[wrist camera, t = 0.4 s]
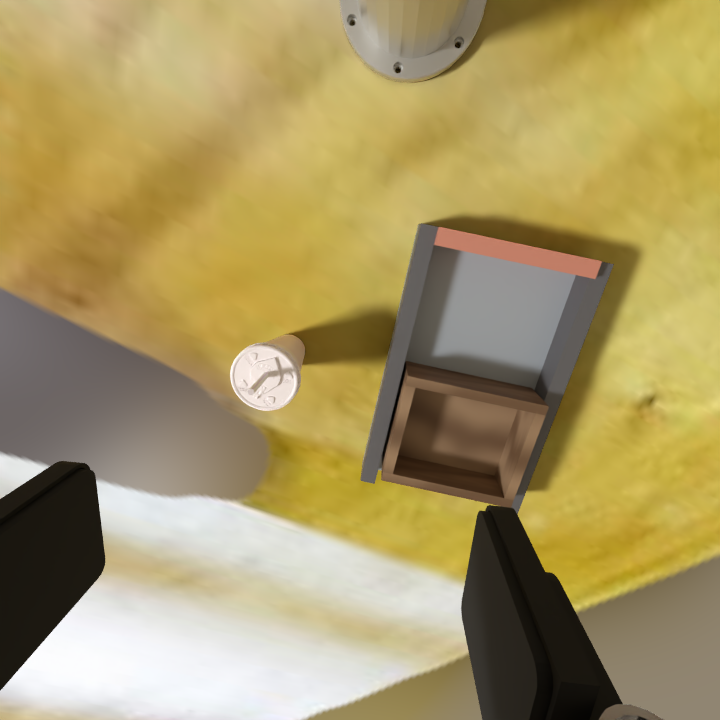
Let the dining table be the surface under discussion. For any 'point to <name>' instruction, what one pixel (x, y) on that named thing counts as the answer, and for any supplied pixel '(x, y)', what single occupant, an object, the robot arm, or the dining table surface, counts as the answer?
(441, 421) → the box
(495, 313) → the bay
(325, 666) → the dining table surface
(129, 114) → the dining table surface
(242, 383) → the smoothie
